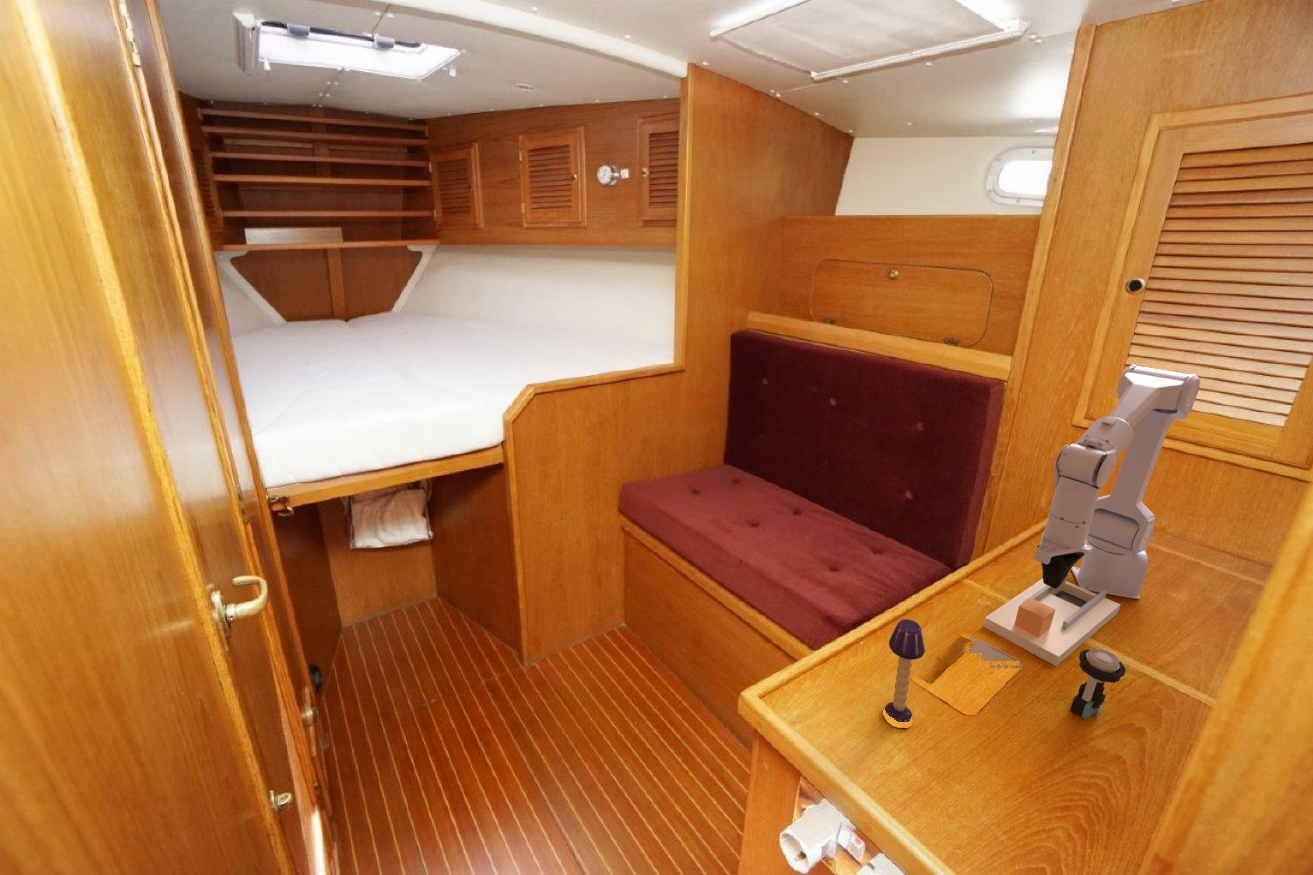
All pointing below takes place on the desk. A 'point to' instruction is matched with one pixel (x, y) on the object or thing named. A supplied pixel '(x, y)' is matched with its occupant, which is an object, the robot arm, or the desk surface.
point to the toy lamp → (904, 665)
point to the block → (1034, 617)
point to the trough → (1055, 619)
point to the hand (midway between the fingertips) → (1051, 584)
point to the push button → (1095, 680)
